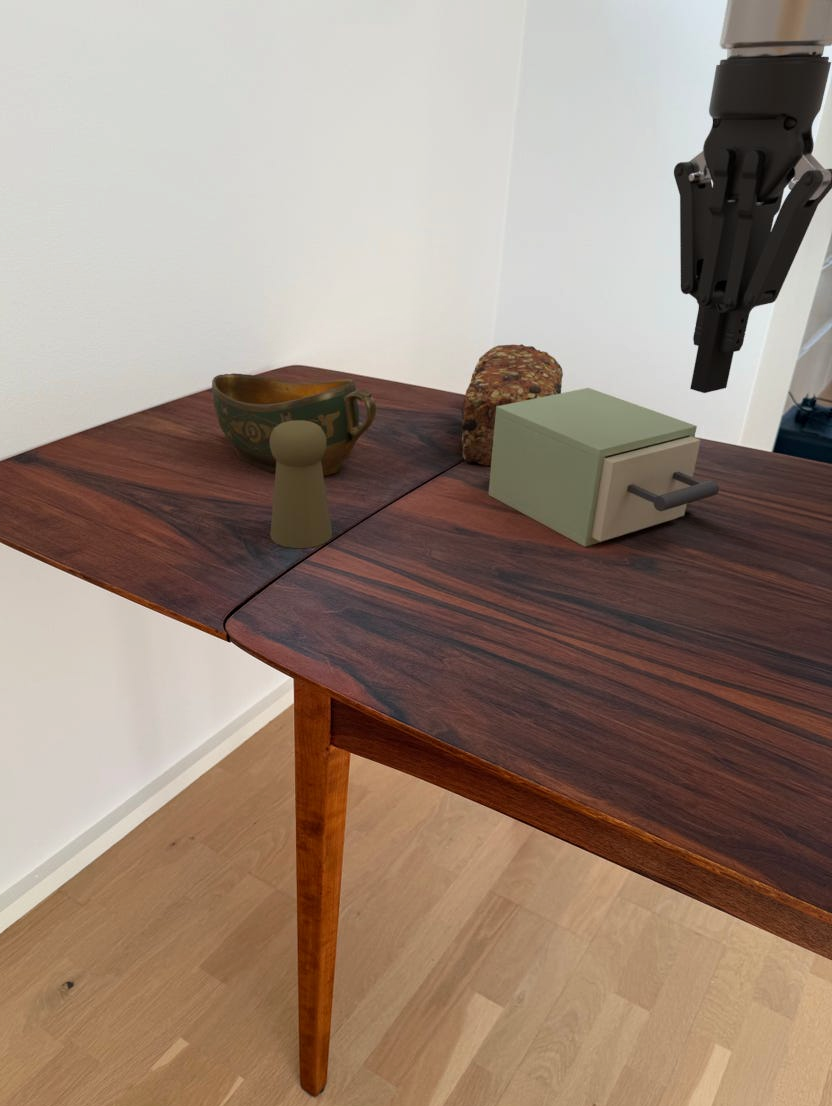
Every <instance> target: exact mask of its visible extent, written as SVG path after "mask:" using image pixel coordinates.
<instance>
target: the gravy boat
mask: <svg viewBox="0 0 832 1106" xmlns="http://www.w3.org/2000/svg"><path fill="white" fill-rule="evenodd" d="M211 392H212V403H213V408H214V412H215V415H216V418H217V422H218V424H219V426H220V428H221V432H222V433H223V434H224V436H225V438H226V439H227V441H228V442H229V444H230V445H231V446H232V447H233V449H234V452H235V454H236V455H237V457H238V458H239V459H240V460H242V461H244V462H245V463H247V464H249V465H250V466H251V465H252V466H254V467H256V468H258V469H261V470H264V471H266V472H271V473H273V474H276V462H277V460H276V459H275V458H274V457H273V455H272V452H271V449H270V436H271V433H272V431H273V430H274V428H275V427H276V426H278V425H279V424H281V423H284V422H288V421H296V420H301V421H310V422H313V423H315V424H317V425H319V426H320V427H321V428H322V430H323V431H324V433H325V436H326V449H325V453H324V456H323V457H322V458H321V464H322V471H323V477H325V476H330V475H333V474H336V473H338V472H339V471H340V470H341V469H342V467H343V462H344V461H345V460H349V459H350V458H351V453H352V451H353V449H354V447H355V445H356V443H357V442H358V440H359V439H360V438H361V436H362V435H363V434H364V433H365V432H366V431H367V430H368V429H369V428H370V427H371V426H372V425H373V423H374V420H375V417H376V414H377V407H376V406H377V404H376V401H375V398H374V397H373V393H372V392H370V391H368V390H366V389H357V386H356V383H355V380H354V379H352V378H346V379H345V378H343V379H335V380H325V381H323V380H322V381H316V382H315V381H313V382H301V381H292V380H284V379H277V378H272V377H266V376H261V375H254V374H253V375H252V374H246V373H245V374H244V373H224V374H218V375H216V376H214V377H213V378H212V381H211ZM359 401H360V402H361V403H363V404H364V405H365V408H366V419H365V422H364V423H363V424H361V426H360V425H359V424H360V410H359V409H360V408H359V407H360V406H359ZM359 426H360V427H359Z"/></svg>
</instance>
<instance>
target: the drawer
mask: <svg viewBox="0 0 832 1106" xmlns="http://www.w3.org/2000/svg"><path fill="white" fill-rule="evenodd" d="M673 440H674V439H673ZM673 440H669V441H665V442H661V443H657V444H653V445H649V446H645V447H641V448H637V449H633V450H629V451H625V452H621V453H617V454H613V455H609V456H605V458H604V461H603V467H602V473H601V480H600V486H599V492H598V498H597V505H596V511H595V517H594V523H593V529H592V536H591V537H592V538H594V539H596V540H598V541H600V542H599V543H602V542H605V541H604V540H606V541H608V540H607V539H609V540H611V539H610V538H612V539H615V538H618V537H617V536H619V537H621V536H620V535H622V536H624V535H623V534H625V535H628V534H631V533H634V532H633V531H635V532H637V531H636V530H638V531H640V530H639V529H641V530H644V529H647V528H646V527H648V528H650V527H649V526H651V527H653V526H652V525H654V526H657V525H659V523H661V524H663V523H662V522H664V523H666V522H665V521H667V522H670V521H673V520H676V519H675V518H677V519H679V518H681V517H684V516H685V513H686V510H687V505H688V504H690V503H694V502H696V501H697V502H698V501H700V500H703V499H707V498H710V497H713V496H714V497H715V496H716V495H717V494H719V491H720V486H719V484H718V482H717V481H715V480H708V481H703V480H700V479H697V478H695V477H694V474H695V468H696V464H697V460H698V454H699V451H700V445H701V440H702V439H699V438H696V437H695V438H694V437H687V438H683V439H679V440H675V441H673ZM672 519H673V520H672ZM669 520H670V521H669ZM656 524H657V525H656ZM643 528H644V529H643ZM630 532H631V533H630ZM627 533H628V534H627ZM614 537H615V538H614ZM601 541H602V542H601Z"/></svg>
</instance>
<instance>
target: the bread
mask: <svg viewBox="0 0 832 1106" xmlns="http://www.w3.org/2000/svg"><path fill="white" fill-rule="evenodd" d="M563 376H564V371H563V368H562V366H561V364H559V362H558V361H557V360H556V358H555V357H553V356H551V355H550V354H549V353H548V352H547V351H541V350H540V349H536V348H535V346H533V345H532V346H531V345H530V346H529V345H528V346H527V345H524V344H503V345H502V344H501V345H496V346H494V347H491V348H490V349H489V350H487V351H486V352H485V353H484V354H483V355H482V356H480V357H479V359H478V362H477V363H476V365H475V367H474V370H473V372H472V373H471V378H470V383H469V384H468V387H467V389H466V390H465V394H464V397H463V403H462V412H461V413H462V414H461V417H462V422H461V428H462V430H461V433H462V434H461V442H462V443H461V444H462V458H463V459H464V461H467V462H468V463H478V464H480V465H483V466H486V467H487V466H490V467H491V460H492V449H493V437H494V426H495V415H496V407H497V406H501V405H506V404H511V403H516V402H521V401H526V400H531V399H536V398H541V397H545V396H550V395H555V394H560V393H562V387H563V385H562V384H563V380H562V379H563Z"/></svg>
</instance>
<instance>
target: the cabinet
mask: <svg viewBox="0 0 832 1106" xmlns="http://www.w3.org/2000/svg"><path fill="white" fill-rule="evenodd" d="M697 427H698V426H697V425H695V424H692V423H690V422H687V421H684V420H681V419H679V418H675V417H672V416H669V415H667V414H664V413H662V412H659V411H656V410H653V409H649V408H647V407H645V406H641V405H638V404H635V403H633V402H630V401H627V400H624V399H621V398H619V397H616V396H613V395H610V394H608V393H604V392H602V391H598V390H596V389H593V388H590V387H585V388H580V389H575V390H570V391H565V392H561V393H560V394H555V395H550V396H545V397H541V398H536V399H531V400H526V401H521V402H516V403H511V404H506V405H501V406H497V407H496V415H495V426H494V437H493V449H492V460H491V466H490V473H489V483H488V494H487V495H488V496H489V497H491V498H493V499H495V500H497V501H499V502H501V503H503V504H505V505H506V506H508V507H510V508H511V509H514V510H515V511H517V512H519V513H521V514H523V515H525V516H526V517H529V518H531V519H532V520H534V521H536V522H537V523H540V524H541V525H543V526H545V527H547V528H549V529H551V530H553V531H554V532H556V533H558V534H559V535H561V536H564V537H566V538H568V539H570V540H571V541H573V542H575V543H577V544H579V546H580V545H581V546H582V547H584V548H586V547H589V546H590V547H591V546H593V545H596V544H599V543H602V542H606V541H609V540H612V539H615V538H618V537H622V536H625V535H629V534H632V533H635V532H638V531H641V530H645V529H647V528H651V527H654V526H658V525H659V524H660V525H661V524H663V523H666V522H667V523H668V522H670V521H673V520H677V519H678V518H675V519H672V520H669V521H665V522H662V523H659V524H656V525H652V526H649V527H646V528H643V529H639V530H636V531H633V532H630V533H627V534H623V535H620V536H617V537H614V538H610V539H607V540H604V541H601V542H600V541H598V540H596V539H594V538H592V537H591V536H592V529H593V523H594V517H595V511H596V505H597V498H598V492H599V486H600V480H601V473H602V467H603V461H604V458H605V456H609V455H613V454H617V453H621V452H625V451H629V450H633V449H637V448H641V447H645V446H649V445H653V444H657V443H661V442H665V441H669V440H673V439H674V440H673V441H675V440H679V439H683V438H687V437H694V438H696V433H697V429H698V428H697Z"/></svg>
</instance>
